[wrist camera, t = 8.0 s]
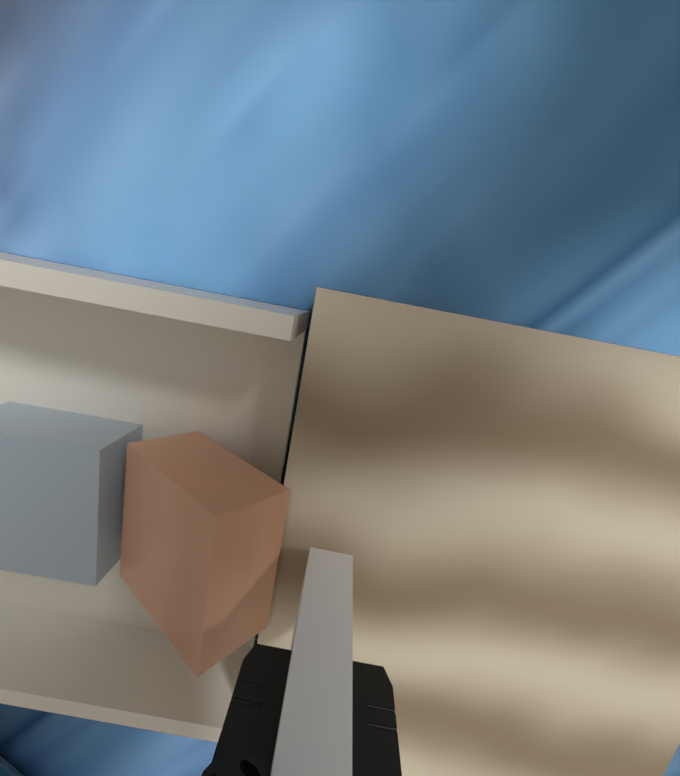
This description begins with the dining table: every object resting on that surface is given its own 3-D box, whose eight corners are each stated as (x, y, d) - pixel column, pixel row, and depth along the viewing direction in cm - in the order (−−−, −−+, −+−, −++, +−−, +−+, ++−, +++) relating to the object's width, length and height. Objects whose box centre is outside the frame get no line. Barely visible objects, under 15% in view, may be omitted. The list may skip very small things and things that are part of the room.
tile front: (197, 431, 17) (127, 443, 15) (290, 489, 14) (216, 517, 11) (185, 546, 19) (119, 574, 16) (267, 627, 15) (197, 677, 13)
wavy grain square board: (325, 289, 16) (316, 286, 12) (740, 369, 16) (861, 392, 12) (260, 665, 21) (239, 750, 17) (585, 724, 21) (638, 822, 17)
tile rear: (99, 450, 14) (142, 424, 17) (-61, 422, 14) (9, 401, 17) (95, 586, 16) (136, 540, 19) (-51, 560, 16) (13, 519, 19)
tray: (-63, 239, 16) (-216, 218, 12) (310, 311, 16) (294, 315, 12) (-44, 594, 20) (-153, 675, 16) (253, 648, 21) (227, 744, 16)
